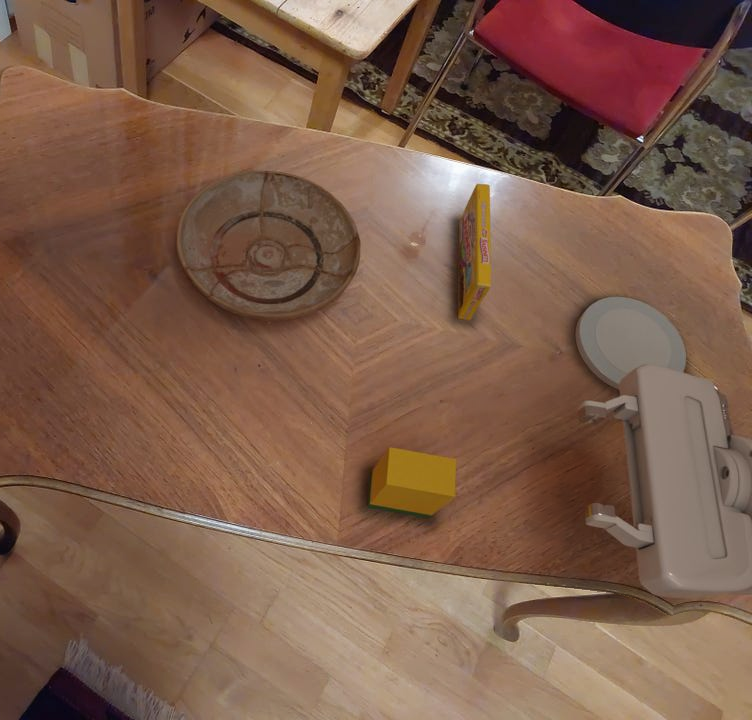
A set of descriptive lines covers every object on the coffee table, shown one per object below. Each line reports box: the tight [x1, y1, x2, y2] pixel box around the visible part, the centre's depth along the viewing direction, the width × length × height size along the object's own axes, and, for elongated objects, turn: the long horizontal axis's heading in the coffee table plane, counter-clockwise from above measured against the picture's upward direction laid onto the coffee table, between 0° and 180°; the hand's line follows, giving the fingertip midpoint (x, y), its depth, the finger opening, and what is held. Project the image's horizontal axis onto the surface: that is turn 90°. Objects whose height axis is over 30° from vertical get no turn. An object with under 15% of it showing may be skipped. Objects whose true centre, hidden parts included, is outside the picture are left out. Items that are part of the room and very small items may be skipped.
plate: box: [574, 296, 687, 391], centre depth 85 cm, size 14×14×1 cm
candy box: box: [457, 183, 492, 321], centre depth 86 cm, size 16×2×8 cm, turn 172°
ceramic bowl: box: [176, 170, 362, 322], centre depth 85 cm, size 23×24×5 cm
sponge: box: [366, 446, 457, 519], centre depth 70 cm, size 4×7×9 cm, turn 81°
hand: (584, 460), depth 56 cm, fingers open, 8 cm apart
